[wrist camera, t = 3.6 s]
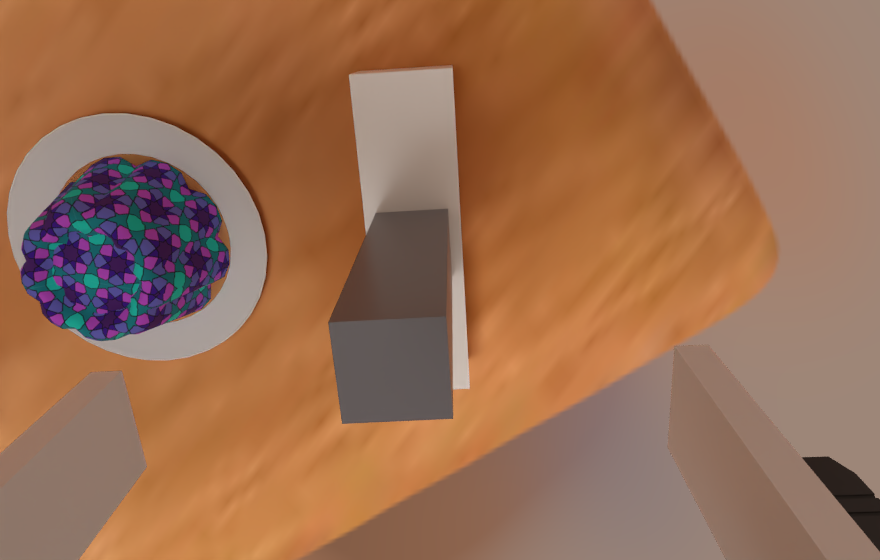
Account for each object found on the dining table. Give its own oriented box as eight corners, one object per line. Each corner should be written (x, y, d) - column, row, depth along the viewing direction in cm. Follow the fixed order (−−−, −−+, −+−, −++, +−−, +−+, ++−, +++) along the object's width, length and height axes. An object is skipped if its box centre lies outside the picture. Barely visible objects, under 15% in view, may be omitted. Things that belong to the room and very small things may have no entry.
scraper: (359, 71, 28) (275, 100, 14) (452, 64, 27) (453, 88, 14) (389, 361, 32) (347, 581, 19) (468, 358, 32) (480, 576, 19)
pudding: (250, 377, 33) (215, 436, 28) (13, 321, 32) (-65, 372, 27) (291, 150, 29) (258, 173, 24) (21, 79, 28) (-71, 88, 23)
